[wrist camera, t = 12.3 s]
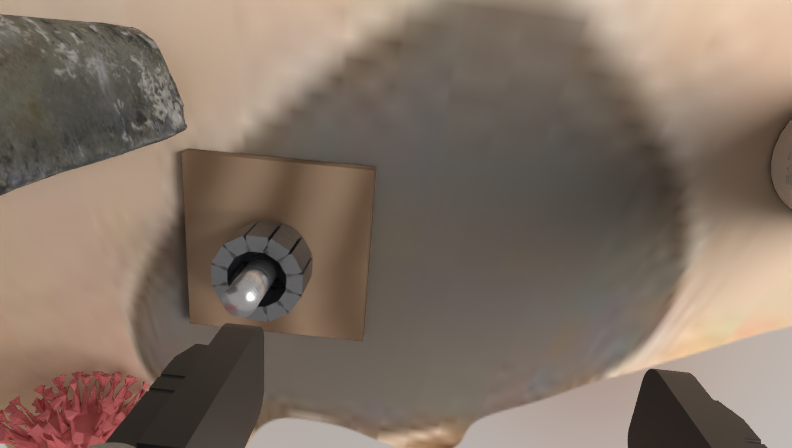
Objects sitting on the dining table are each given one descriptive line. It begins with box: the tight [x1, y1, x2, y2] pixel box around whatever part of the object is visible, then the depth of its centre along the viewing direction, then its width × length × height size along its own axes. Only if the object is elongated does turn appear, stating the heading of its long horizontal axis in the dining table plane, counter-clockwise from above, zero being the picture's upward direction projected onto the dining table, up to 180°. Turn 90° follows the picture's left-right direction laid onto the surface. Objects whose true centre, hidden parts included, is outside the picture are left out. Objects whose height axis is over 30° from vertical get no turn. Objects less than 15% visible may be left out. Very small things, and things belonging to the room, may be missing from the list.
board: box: [181, 149, 376, 341], centre depth 40 cm, size 14×14×1 cm
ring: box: [211, 220, 313, 322], centre depth 36 cm, size 6×6×3 cm
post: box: [222, 223, 302, 317], centre depth 36 cm, size 5×5×8 cm
